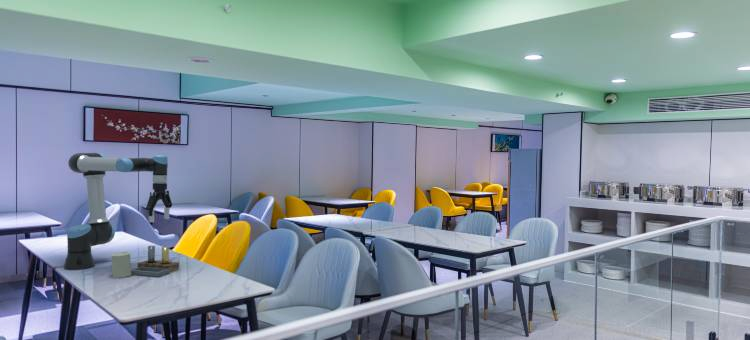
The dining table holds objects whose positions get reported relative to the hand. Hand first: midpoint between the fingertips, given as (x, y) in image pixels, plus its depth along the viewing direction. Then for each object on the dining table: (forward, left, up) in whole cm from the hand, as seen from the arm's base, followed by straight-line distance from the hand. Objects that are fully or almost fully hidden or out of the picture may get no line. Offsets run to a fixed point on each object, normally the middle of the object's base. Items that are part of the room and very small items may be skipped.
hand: (159, 220), depth 295 cm
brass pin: (+6, -2, -28) cm, 28 cm away
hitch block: (+1, -2, -27) cm, 28 cm away
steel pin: (-3, -2, -28) cm, 28 cm away
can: (-8, -20, -28) cm, 35 cm away
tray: (+3, -12, -27) cm, 30 cm away
